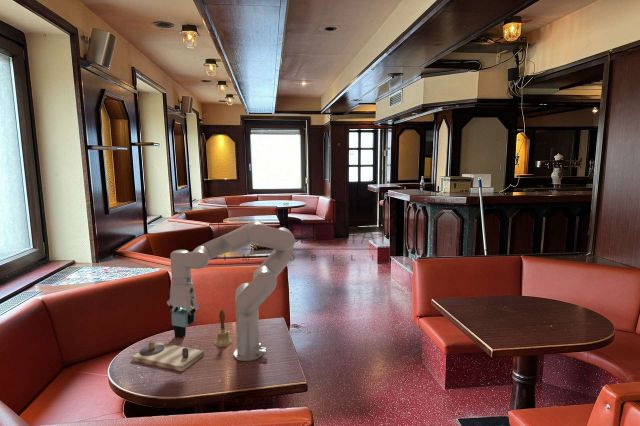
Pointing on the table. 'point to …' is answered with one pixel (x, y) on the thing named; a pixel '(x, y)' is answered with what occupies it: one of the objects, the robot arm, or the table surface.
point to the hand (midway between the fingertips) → (183, 321)
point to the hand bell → (222, 333)
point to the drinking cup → (179, 330)
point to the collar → (181, 317)
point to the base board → (168, 356)
